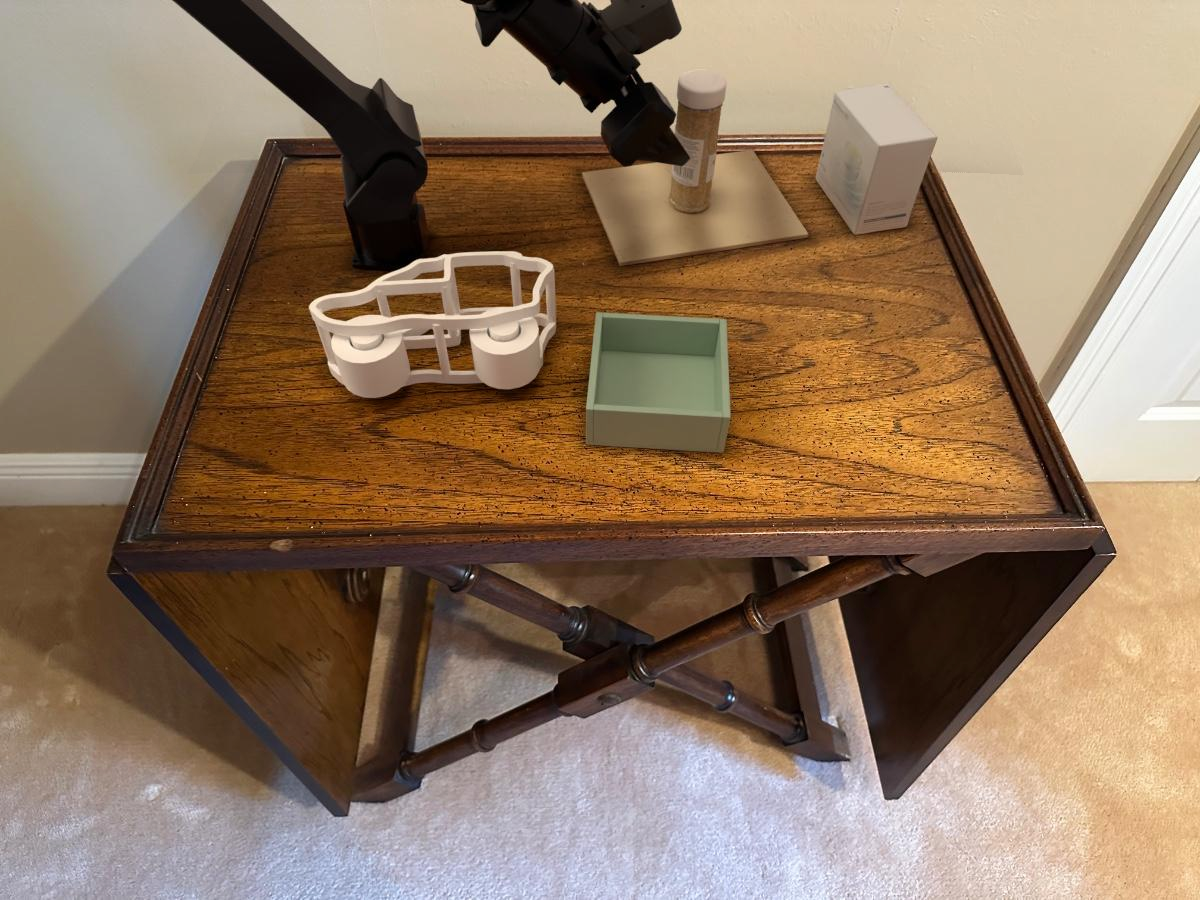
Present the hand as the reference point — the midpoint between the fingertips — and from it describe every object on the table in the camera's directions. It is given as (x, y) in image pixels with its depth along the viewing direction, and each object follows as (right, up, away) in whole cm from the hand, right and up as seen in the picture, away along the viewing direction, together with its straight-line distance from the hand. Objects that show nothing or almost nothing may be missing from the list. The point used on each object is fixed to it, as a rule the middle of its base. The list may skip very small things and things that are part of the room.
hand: (671, 136), depth 81 cm
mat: (+3, -5, +7) cm, 9 cm away
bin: (-2, -26, -10) cm, 28 cm away
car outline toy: (-21, -23, -8) cm, 32 cm away
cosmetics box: (+21, -4, +8) cm, 23 cm away
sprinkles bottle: (+2, -5, +7) cm, 9 cm away
